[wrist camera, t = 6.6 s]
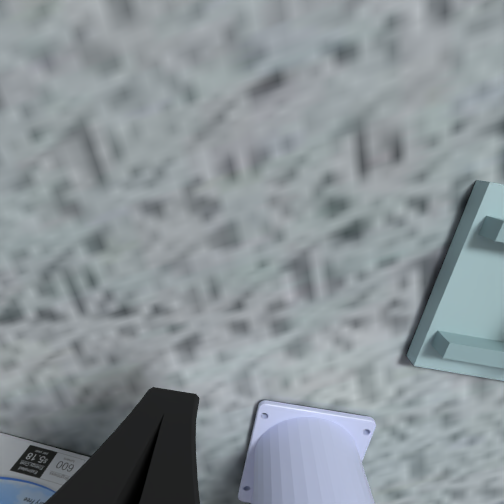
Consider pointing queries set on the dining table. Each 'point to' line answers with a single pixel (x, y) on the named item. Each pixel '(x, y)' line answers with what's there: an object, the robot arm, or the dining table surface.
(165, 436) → the robot arm
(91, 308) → the dining table surface
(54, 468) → the light bulb box
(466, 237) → the board
